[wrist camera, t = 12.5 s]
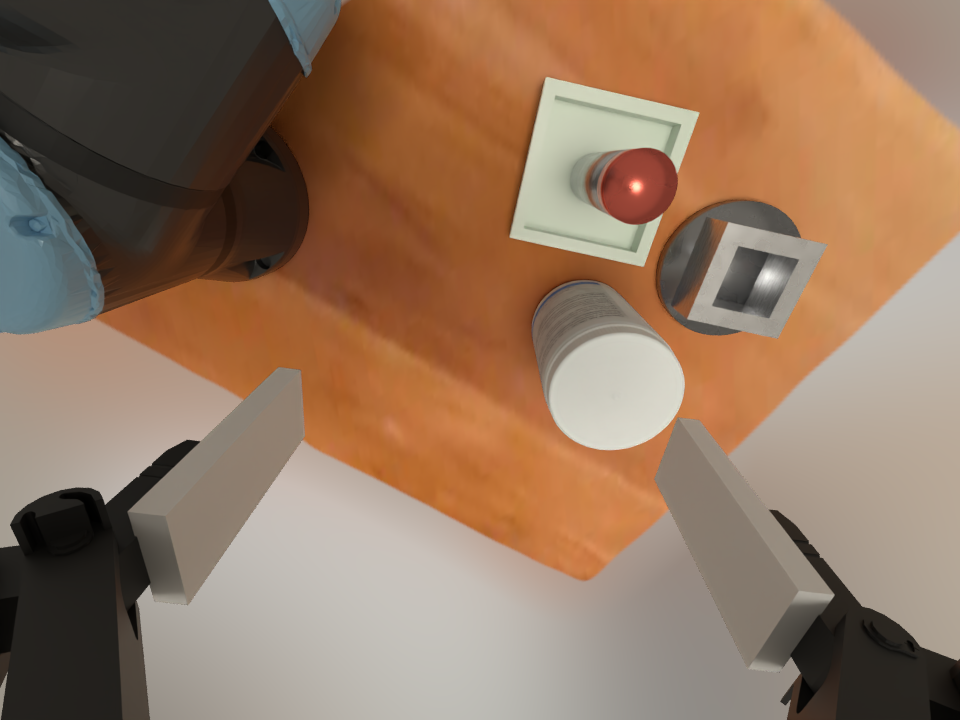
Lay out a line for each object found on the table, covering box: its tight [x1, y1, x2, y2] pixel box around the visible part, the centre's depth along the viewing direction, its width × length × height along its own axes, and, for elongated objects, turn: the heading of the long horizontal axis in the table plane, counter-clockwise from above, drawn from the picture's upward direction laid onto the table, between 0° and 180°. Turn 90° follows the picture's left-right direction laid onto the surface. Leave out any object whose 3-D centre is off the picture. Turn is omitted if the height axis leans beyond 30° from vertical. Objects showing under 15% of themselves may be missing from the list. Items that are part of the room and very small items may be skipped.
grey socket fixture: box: [656, 200, 828, 339], centre depth 37 cm, size 12×12×6 cm
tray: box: [509, 77, 699, 267], centre depth 36 cm, size 12×12×2 cm
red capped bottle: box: [570, 148, 678, 225], centre depth 30 cm, size 4×4×14 cm
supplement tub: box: [532, 280, 685, 450], centre depth 36 cm, size 10×10×15 cm
